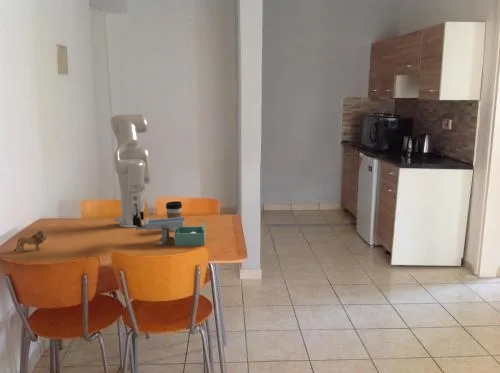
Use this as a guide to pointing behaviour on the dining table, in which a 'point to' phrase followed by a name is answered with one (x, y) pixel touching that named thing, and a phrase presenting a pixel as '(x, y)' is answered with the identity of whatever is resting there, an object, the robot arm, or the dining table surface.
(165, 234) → the chute stand
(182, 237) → the bin
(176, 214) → the coffee cup
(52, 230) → the dining table surface
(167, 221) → the chute
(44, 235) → the lion figurine
